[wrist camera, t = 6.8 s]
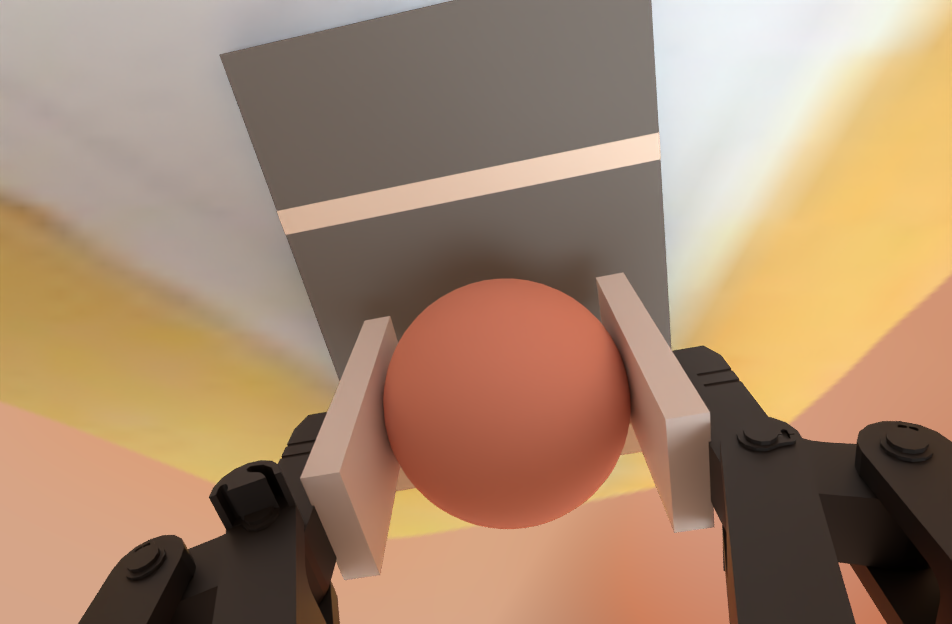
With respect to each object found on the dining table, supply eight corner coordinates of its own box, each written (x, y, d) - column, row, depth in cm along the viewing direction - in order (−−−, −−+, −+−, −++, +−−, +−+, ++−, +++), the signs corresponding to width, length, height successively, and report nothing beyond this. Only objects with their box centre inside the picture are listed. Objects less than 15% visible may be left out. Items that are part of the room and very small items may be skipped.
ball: (377, 267, 16) (320, 381, 10) (591, 227, 15) (650, 324, 10) (427, 439, 18) (403, 603, 13) (614, 410, 18) (671, 569, 12)
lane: (227, 53, 17) (168, 59, 13) (642, -43, 16) (687, -61, 12) (364, 431, 23) (346, 498, 19) (668, 380, 22) (702, 441, 18)
